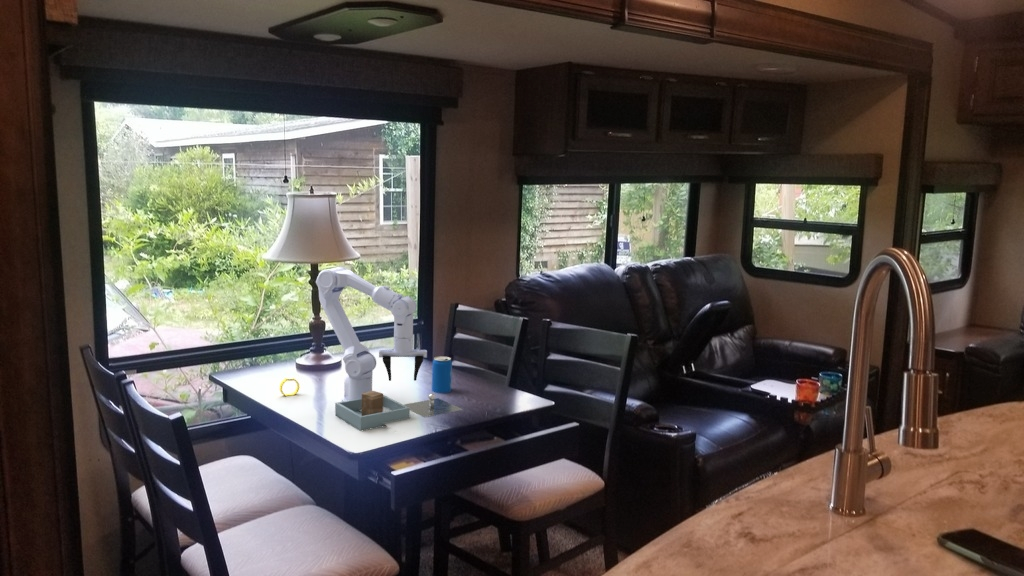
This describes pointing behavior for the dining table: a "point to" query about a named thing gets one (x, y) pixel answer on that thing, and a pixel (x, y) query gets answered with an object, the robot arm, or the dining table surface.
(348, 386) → the robot arm
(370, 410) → the brown wooden block
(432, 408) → the stud base
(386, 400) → the bin
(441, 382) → the beverage can
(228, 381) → the dining table surface
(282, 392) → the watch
